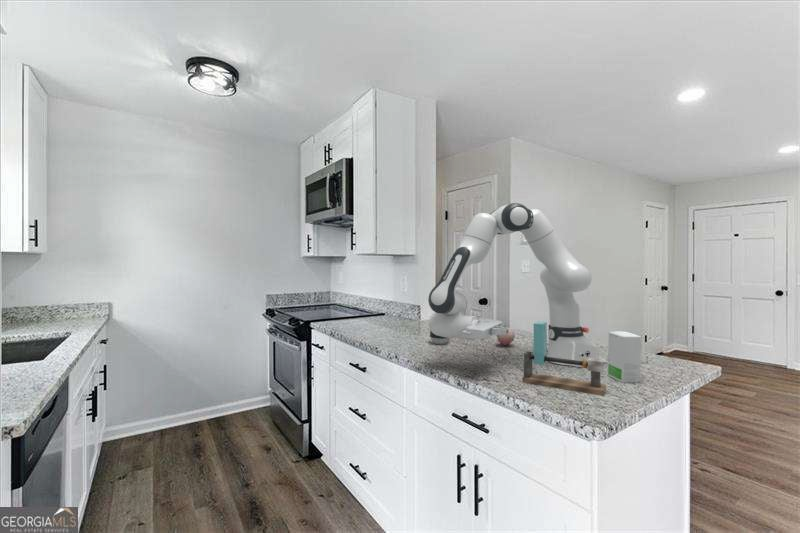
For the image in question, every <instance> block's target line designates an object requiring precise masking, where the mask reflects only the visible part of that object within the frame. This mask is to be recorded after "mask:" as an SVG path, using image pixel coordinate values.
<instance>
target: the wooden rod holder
mask: <svg viewBox="0 0 800 533" xmlns="http://www.w3.org/2000/svg"><path fill="white" fill-rule="evenodd" d="M523 356H524V357H523V358H524V359H523V377H522V378H521V379H522V380H521V381H522V382H521V383H524V384H530V385H534V386H535V385H536V386H541V387H548V388H554V389H555V388H556V389H561V390H567V391H572V392H579V393H585V394H590V395H591V394H592V395H597V396H605V393H606V390H607V384H606V383H602V382H601V373H603V372H604V368H605V367H604V366H605V365H604V363H603V360H602V359H594V358H589V359H588V362H587V360H585V359H583V361H577V360H569V359H561V358H553V357H545V356H544V361H546V362H549V361H550V362H549V363H552V362H558V363H565V364H573V365H581V366H583V367H582V368H583V369H587V371H588V372H590V381H586V380H581V379H574V378H567V377H566V378H565V377H562V376H561V377H559V376H555V375H554V376H553V375H546V374H539V373H533V360H534V354H533V352H532V351H526V352H524V354H523Z"/></svg>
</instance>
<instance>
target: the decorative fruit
mask: <svg viewBox="0 0 800 533" xmlns="http://www.w3.org/2000/svg"><path fill="white" fill-rule="evenodd" d="M503 328H508V329H509V332H508V333H507V334H497V335H496V338H497V341H498V342H499V344H501V346H504V347H506V346H508V345H510V344H511V343H512V342H514V340H515V336H516V335H515V331H514V330H513V329H512V328H511V327H509V326H506V325H503Z"/></svg>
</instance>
